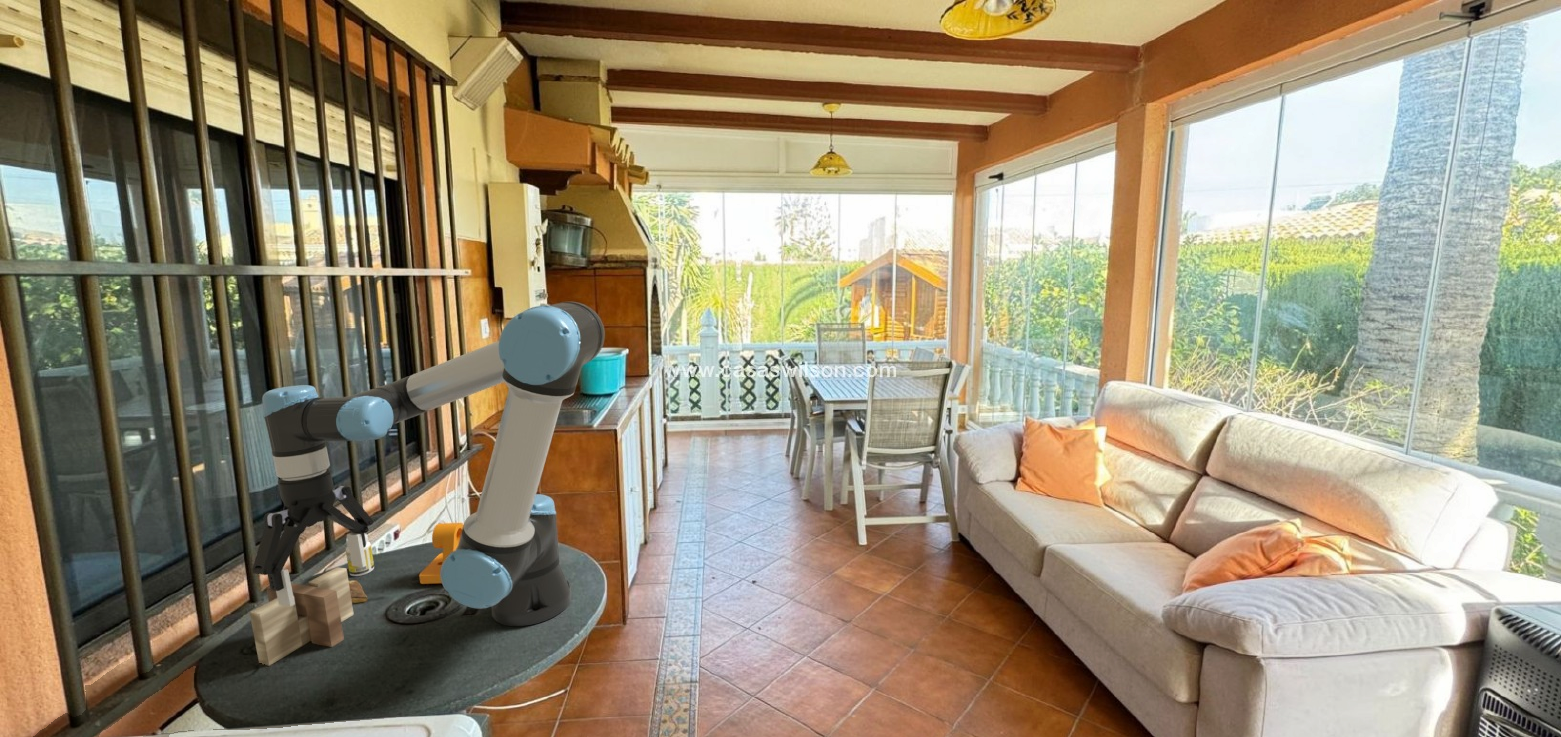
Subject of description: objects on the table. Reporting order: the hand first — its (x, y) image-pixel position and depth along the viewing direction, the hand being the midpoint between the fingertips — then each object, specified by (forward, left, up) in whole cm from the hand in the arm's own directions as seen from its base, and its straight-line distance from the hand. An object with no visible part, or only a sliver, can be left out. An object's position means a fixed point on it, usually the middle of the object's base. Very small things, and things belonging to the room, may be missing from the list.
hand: (325, 584), depth 112 cm
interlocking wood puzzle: (+6, 0, -12) cm, 13 cm away
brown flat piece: (+13, -14, -13) cm, 23 cm away
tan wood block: (+6, 0, -12) cm, 13 cm away
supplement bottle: (+19, -22, -12) cm, 31 cm away
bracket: (-1, -26, -12) cm, 29 cm away
